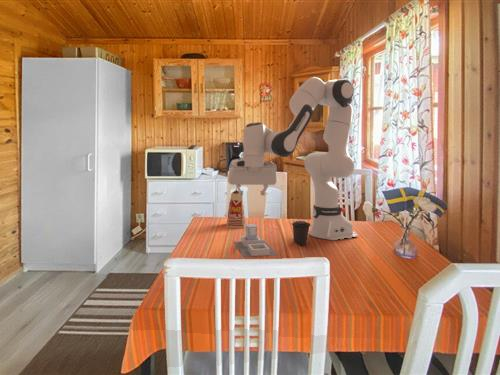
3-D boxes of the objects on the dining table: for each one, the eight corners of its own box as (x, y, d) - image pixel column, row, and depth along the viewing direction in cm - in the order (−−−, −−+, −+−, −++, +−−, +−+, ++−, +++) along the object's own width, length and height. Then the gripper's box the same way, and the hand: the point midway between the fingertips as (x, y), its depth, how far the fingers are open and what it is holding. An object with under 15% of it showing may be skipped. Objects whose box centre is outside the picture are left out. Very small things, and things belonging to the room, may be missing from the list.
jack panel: (264, 242, 177) (264, 234, 176) (278, 257, 158) (278, 248, 157) (232, 244, 173) (233, 236, 173) (243, 259, 154) (243, 250, 154)
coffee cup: (290, 241, 180) (291, 219, 178) (308, 241, 180) (309, 220, 178) (291, 246, 172) (292, 224, 170) (310, 247, 172) (311, 224, 170)
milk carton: (244, 228, 200) (245, 188, 197) (226, 227, 201) (226, 188, 197) (245, 223, 209) (246, 185, 206) (227, 223, 210) (228, 185, 206)
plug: (254, 242, 174) (254, 224, 172) (257, 245, 169) (257, 227, 168) (245, 242, 173) (245, 224, 171) (247, 245, 168) (248, 227, 167)
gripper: (274, 161, 171) (273, 193, 173) (227, 161, 167) (226, 193, 169) (279, 163, 165) (277, 196, 167) (230, 162, 161) (229, 196, 163)
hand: (251, 195), depth 168 cm, fingers open, 8 cm apart
